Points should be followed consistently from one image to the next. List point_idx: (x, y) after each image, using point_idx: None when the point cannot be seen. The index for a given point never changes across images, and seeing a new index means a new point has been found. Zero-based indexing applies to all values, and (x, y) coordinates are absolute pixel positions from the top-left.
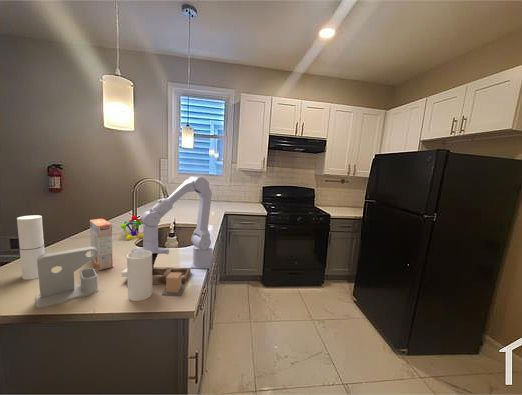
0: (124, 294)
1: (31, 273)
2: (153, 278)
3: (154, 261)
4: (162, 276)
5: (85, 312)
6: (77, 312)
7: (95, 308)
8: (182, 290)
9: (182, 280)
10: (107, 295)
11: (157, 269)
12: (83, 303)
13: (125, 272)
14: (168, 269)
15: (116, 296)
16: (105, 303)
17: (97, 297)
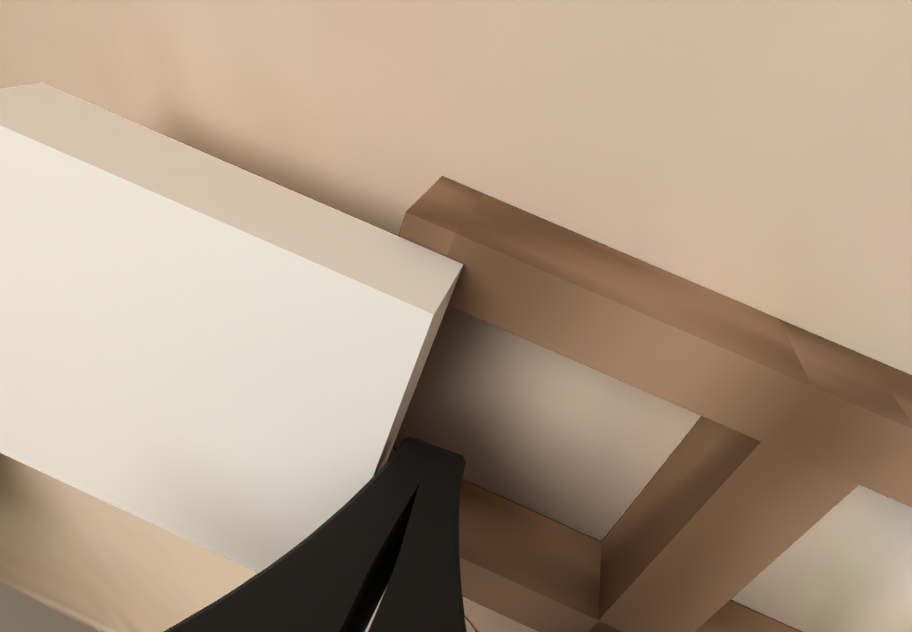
0: (250, 570)
1: None
2: (482, 598)
3: (449, 605)
4: (609, 628)
5: (99, 627)
6: (55, 606)
7: (131, 621)
8: None
9: None
10: (123, 522)
11: (563, 345)
12: (23, 540)
13: (61, 476)
14: (781, 476)
15: (198, 566)
16: (163, 605)
17: (65, 514)
